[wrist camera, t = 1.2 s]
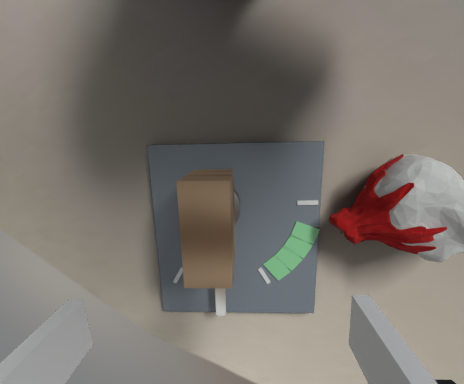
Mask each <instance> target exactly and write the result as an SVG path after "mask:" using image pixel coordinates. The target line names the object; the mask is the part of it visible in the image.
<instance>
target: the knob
mask: <svg viewBox="0 0 464 384" xmlns="http://www.w3.org/2000/svg"><path fill="white" fill-rule="evenodd" d="M176 184H177V197H178V210H179V224H180V237H181V251H182V264H183V277H184V288H215V300H216V316H226V294H225V288H232V286H233V273H234V259H235V224H236V223H237V221H238V219H239V215H240V198H239V195H238V194H237V192H236V191H235V189H234V175H233V169H200V170H193V171H192V172H190V173H189V174H187V175H186V176H184V177H182V178H181V179H179V180H178V181H176Z"/></svg>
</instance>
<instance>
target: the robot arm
mask: <svg viewBox="0 0 464 384" xmlns="http://www.w3.org/2000/svg"><path fill="white" fill-rule="evenodd" d="M349 345H350V347H351V349H352V351H353V353H354V355H355V357H356V359H357V361H358V363H359V366H360V368H361V370H362V372H363V374H364V376H365V378H366V380H367V382H368V384H456V383H455V382H453V381H452V380H434V378H433V377H432V376H431V374H430V373H429V372H428V371H427V369H426V368H425V367H424V365H423V364H422V363H421V362H420V360H419V359H418V358H417V356H416V355H415V354H414V352H413V351H412V350H411V349H410V347H409V346H408V345H407V343H406V342H405V341H404V340H403V338H402V337H401V336H400V334H399V333H398V332H397V330H396V329H395V328H394V327H393V325H392V324H391V323H390V321H389V320H388V319H387V318H386V316H385V315H384V314H383V312H382V311H381V310H380V308H379V307H378V306H377V305H376V303H375V302H374V301H373V299H372V298H371V297H370V296H369V295H352V303H351V318H350V333H349ZM92 346H93V342H92V338H91V333H90V329H89V325H88V321H87V316H86V312H85V308H84V304H83V300H67V302H65V303H64V304H63V305H62V306H61V307H60V308H59V309H58V310H57V311H56V312H55V313H54V314H52V315H51V316H50V317H49V318H48V319H47V320H46V321H45V322H44V323H43V324H42V325H41V326H40V327H39V328H37V329H36V331H34V332H33V333H32V334H31V335H30V336H29V337H28V338H27V339H26V340H25V341H24V342H22V344H20V345H19V346H18V347H17V348H16V349H15V350H14V351H13V352H12V353H11V354H10V355H9V356H7V357H6V359H4V360H3V361H2V362H1V363H0V384H65V383H66V382H67V380H68V379H69V378H70V376H71V375H72V374H73V372H74V371H75V369H76V368H77V367H78V365H79V364H80V362H81V361H82V360H83V358H84V357H85V356H86V354H87V353H88V351H89V350H90V349H91V347H92Z"/></svg>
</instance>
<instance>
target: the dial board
mask: <svg viewBox="0 0 464 384" xmlns="http://www.w3.org/2000/svg"><path fill="white" fill-rule="evenodd" d="M147 149H148V159H149V169H150V179H151V190H152V200H153V210H154V220H155V230H156V240H157V251H158V261H159V271H160V281H161V291H162V301H163V311H181V312H216V300H215V288H184V277H183V264H182V251H181V237H180V224H179V210H178V197H177V184H176V181H178V180H179V179H181V178H182V177H184V176H186V175H187V174H189V173H190V172H192V171H193V170H200V169H233V175H234V189H235V191H236V192H237V194H238V195H239V198H240V215H239V219H238V221H237V223H236V224H235V259H234V273H233V286H232V288H225V294H226V312H262V313H314V303H315V286H316V269H317V252H318V235H319V231H320V229H319V218H320V202H321V185H322V168H323V151H324V141H311V142H267V143H223V144H179V145H147Z"/></svg>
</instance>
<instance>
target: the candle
mask: <svg viewBox="0 0 464 384" xmlns="http://www.w3.org/2000/svg"><path fill="white" fill-rule="evenodd" d="M329 222H330V223H331V224H332V225H334V226H336V227H337V228H339V229H340V230H341V231H340V233H342V231H344V234H345V237H346V239H347V240H349V241H350V242H352V243H354V244H357V243H359V242H361V241H364V240H376V241H380V242H383V243H384V244H386V245H388V246H390V247H393V248H396V249H398V250H403V251H407V252H410V253H414V254H418V255H420V256H421V257H422V258H424V259H426V260H428V261H435V262H443V261H444V260H446V259H447V258H448V257H450V256H452V255H454V254H458V253H464V180H463V179H462V178H461V176H460V175H459V174H458V173H457V172H456V171H454V170H453V169H452V168H451V167H450V166H448V165H446V164H445V163H443V162H440V161H436V160H434V159H432V158H430V157H424V156H420V155H416V154H413V155H407V154H404V155H403V154H402V155H399V156H396V157H394V158H391V159H390V160H388V161H387V162H386V163H384V164H383V165H382V166H380V167H379V168H378V169H377V170H375V171H374V172H373V173H372V174H371V175H370V176H369V178H368V180H367V182H366V184H365V186H364V188H363V189H362V190H361V191H360V192H359V194H358V196H357V198H356V201H355V203H354V204H353V205H352V206H351V207H350V208H343V209H341V210H340V211H339V212H338V213H336V214H331V216H330V218H329Z"/></svg>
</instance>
